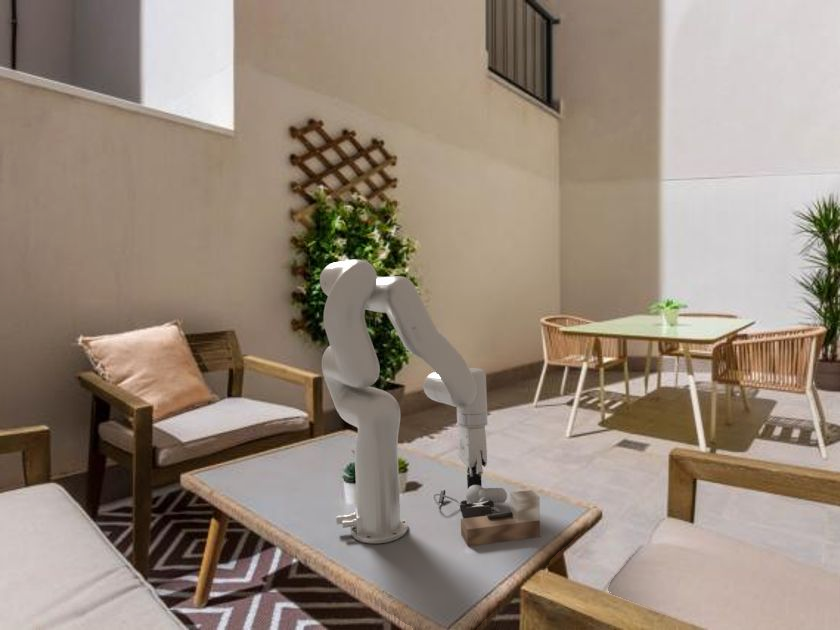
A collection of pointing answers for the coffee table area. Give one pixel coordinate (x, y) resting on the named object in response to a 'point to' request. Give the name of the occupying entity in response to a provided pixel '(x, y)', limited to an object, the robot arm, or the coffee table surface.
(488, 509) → the clip-on lamp
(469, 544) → the charging dock
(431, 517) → the coffee table surface
